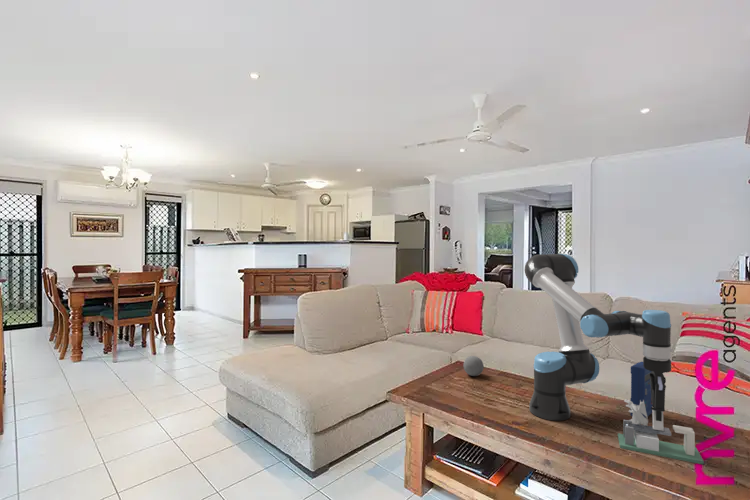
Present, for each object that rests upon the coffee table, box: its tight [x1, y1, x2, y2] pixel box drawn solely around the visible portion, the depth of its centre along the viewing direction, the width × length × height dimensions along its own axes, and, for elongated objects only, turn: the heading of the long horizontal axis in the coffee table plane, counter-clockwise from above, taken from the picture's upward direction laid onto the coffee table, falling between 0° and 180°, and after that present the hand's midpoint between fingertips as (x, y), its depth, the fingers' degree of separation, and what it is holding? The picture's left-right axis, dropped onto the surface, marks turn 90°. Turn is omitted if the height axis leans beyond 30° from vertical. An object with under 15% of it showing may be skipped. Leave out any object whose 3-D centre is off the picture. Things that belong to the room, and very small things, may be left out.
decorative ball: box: [463, 355, 485, 377], centre depth 203 cm, size 10×10×10 cm
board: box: [617, 419, 705, 465], centre depth 131 cm, size 22×9×7 cm, turn 63°
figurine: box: [623, 398, 649, 426], centre depth 144 cm, size 11×8×12 cm
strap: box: [625, 422, 672, 437], centre depth 132 cm, size 12×4×2 cm, turn 63°
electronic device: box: [629, 361, 653, 419], centre depth 156 cm, size 10×5×20 cm, turn 127°
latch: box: [672, 424, 696, 456], centre depth 128 cm, size 5×4×7 cm
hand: (658, 429), depth 131 cm, fingers closed
